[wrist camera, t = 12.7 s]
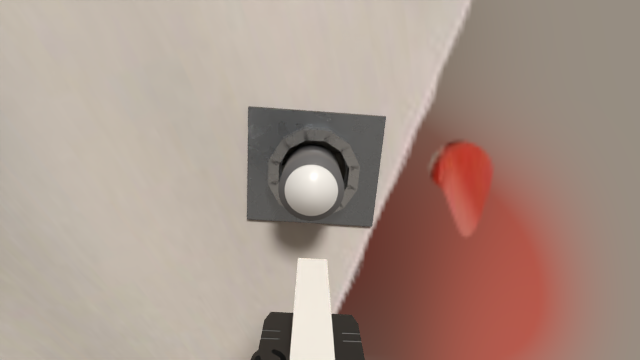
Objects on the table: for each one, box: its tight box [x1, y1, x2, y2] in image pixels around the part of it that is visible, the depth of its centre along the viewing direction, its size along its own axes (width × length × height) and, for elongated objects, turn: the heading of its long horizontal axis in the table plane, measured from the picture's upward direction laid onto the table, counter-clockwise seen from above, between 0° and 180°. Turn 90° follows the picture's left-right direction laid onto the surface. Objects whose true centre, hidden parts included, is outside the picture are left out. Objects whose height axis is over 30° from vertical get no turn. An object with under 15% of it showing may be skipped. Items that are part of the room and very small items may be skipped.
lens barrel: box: [278, 144, 344, 221], centre depth 36 cm, size 6×6×8 cm
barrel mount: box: [247, 106, 386, 226], centre depth 39 cm, size 16×14×3 cm
